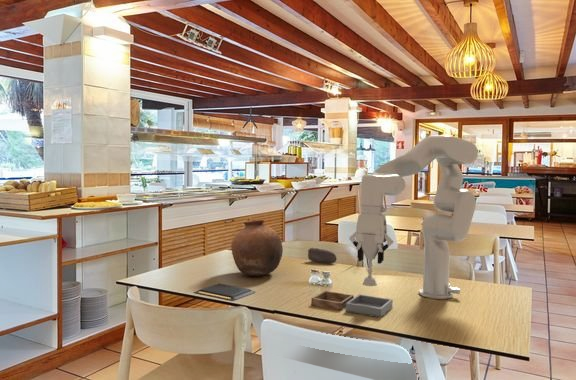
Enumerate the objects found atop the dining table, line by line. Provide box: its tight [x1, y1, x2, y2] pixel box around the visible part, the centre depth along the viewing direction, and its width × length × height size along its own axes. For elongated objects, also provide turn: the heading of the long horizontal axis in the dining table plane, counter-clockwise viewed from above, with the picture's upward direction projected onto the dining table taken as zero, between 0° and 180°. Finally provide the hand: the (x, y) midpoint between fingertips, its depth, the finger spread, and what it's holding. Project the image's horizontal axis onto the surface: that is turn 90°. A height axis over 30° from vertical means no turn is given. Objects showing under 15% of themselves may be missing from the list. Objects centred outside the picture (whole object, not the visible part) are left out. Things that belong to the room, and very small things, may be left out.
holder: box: [311, 290, 355, 311], centre depth 175 cm, size 12×12×2 cm
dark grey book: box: [193, 283, 256, 302], centre depth 188 cm, size 20×2×15 cm
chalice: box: [361, 233, 379, 287], centre depth 167 cm, size 7×7×18 cm
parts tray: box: [345, 294, 394, 318], centre depth 168 cm, size 13×13×3 cm
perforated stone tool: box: [307, 247, 338, 264], centre depth 243 cm, size 15×5×7 cm, turn 61°
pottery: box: [230, 218, 284, 277], centre depth 216 cm, size 23×23×25 cm
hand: (370, 261), depth 167 cm, fingers closed on chalice, 6 cm apart
